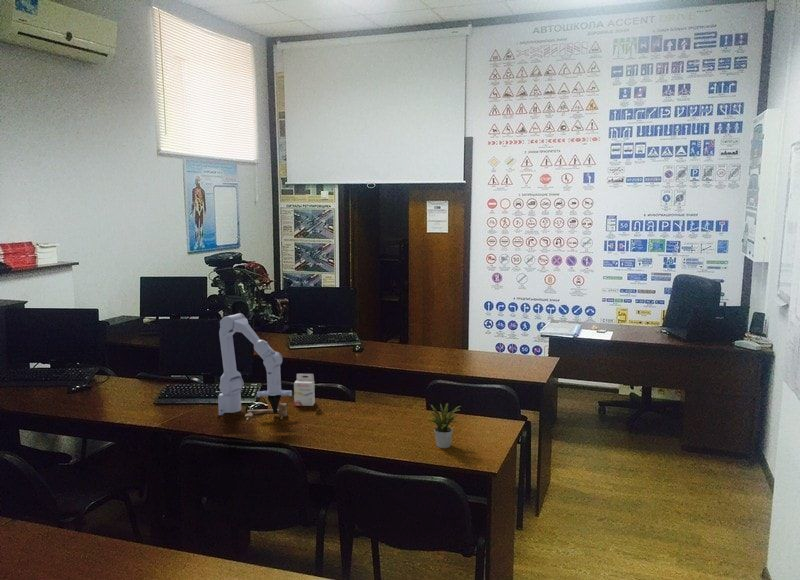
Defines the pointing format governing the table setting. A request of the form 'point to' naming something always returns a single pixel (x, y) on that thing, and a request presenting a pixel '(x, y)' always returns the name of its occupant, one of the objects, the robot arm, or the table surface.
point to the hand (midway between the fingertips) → (275, 412)
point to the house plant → (443, 426)
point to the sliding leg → (282, 410)
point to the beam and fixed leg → (251, 412)
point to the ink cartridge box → (304, 390)
